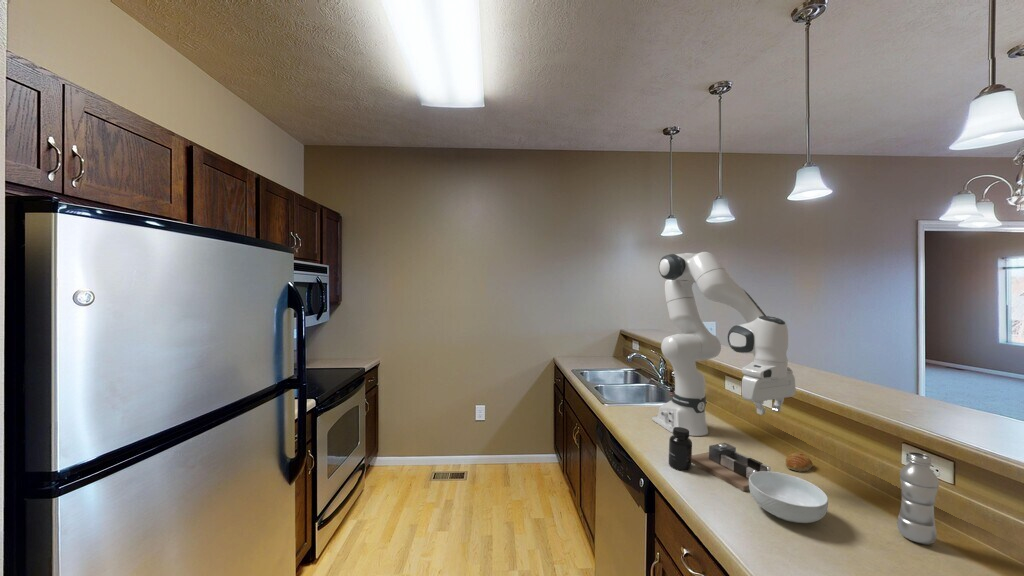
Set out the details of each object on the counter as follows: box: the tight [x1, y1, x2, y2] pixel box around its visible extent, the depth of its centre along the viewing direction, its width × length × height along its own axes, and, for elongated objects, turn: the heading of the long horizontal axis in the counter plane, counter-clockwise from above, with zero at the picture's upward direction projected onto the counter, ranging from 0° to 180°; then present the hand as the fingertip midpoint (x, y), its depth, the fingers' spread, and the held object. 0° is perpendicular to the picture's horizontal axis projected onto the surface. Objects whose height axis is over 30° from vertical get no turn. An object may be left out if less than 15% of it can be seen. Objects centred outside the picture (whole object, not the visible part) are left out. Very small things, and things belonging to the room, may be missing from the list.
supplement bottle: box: [668, 427, 693, 471], centre depth 125 cm, size 7×7×12 cm
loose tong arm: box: [734, 451, 772, 472], centre depth 120 cm, size 12×1×3 cm, turn 22°
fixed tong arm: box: [721, 455, 757, 479], centre depth 118 cm, size 12×1×3 cm, turn 22°
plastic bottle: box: [896, 451, 940, 546], centre depth 91 cm, size 6×7×20 cm
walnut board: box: [691, 451, 750, 492], centre depth 123 cm, size 20×15×2 cm
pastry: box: [785, 452, 814, 473], centre depth 126 cm, size 9×7×4 cm
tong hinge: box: [708, 442, 737, 465], centre depth 127 cm, size 4×7×5 cm, turn 112°
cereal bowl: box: [749, 471, 829, 524], centre depth 100 cm, size 17×17×7 cm
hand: (768, 412), depth 121 cm, fingers open, 6 cm apart
